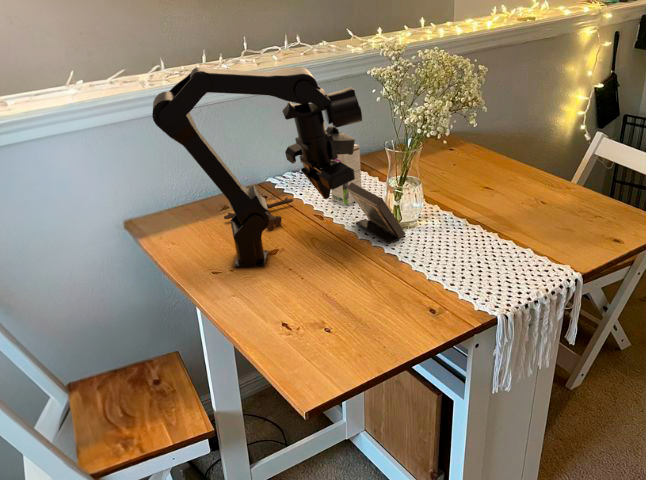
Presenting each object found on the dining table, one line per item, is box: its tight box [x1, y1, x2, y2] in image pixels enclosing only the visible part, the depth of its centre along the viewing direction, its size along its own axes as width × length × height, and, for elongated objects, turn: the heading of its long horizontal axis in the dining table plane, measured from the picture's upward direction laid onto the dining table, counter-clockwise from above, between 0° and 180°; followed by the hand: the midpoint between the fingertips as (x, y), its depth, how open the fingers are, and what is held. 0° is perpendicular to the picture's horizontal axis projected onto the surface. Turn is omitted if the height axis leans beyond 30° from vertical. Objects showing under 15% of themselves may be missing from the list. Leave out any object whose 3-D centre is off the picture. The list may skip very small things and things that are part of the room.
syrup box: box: [330, 143, 363, 206], centre depth 168 cm, size 6×6×14 cm
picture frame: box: [346, 182, 406, 240], centre depth 153 cm, size 2×12×12 cm
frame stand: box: [355, 218, 400, 245], centre depth 155 cm, size 3×13×1 cm, turn 37°
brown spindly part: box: [223, 197, 294, 231], centre depth 163 cm, size 18×4×14 cm
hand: (326, 197), depth 146 cm, fingers closed
